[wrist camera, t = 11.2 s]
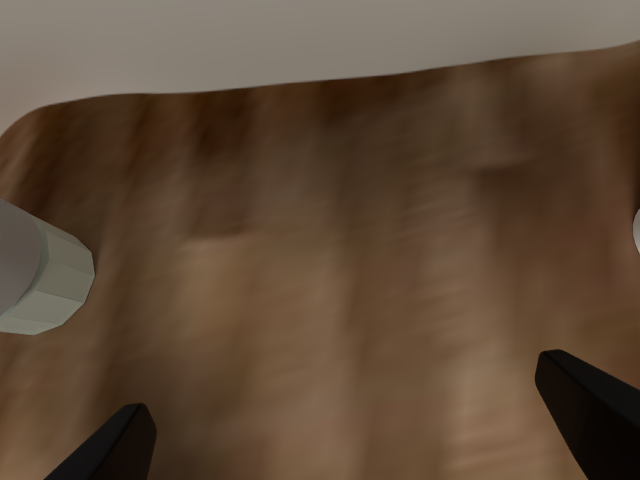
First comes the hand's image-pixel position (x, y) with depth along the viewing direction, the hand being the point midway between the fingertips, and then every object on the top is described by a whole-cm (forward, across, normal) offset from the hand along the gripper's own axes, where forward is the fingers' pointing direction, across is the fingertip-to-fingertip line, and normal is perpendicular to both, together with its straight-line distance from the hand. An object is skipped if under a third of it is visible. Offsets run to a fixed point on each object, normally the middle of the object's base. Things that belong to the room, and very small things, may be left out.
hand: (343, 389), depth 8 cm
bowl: (+15, +19, +4) cm, 25 cm away
